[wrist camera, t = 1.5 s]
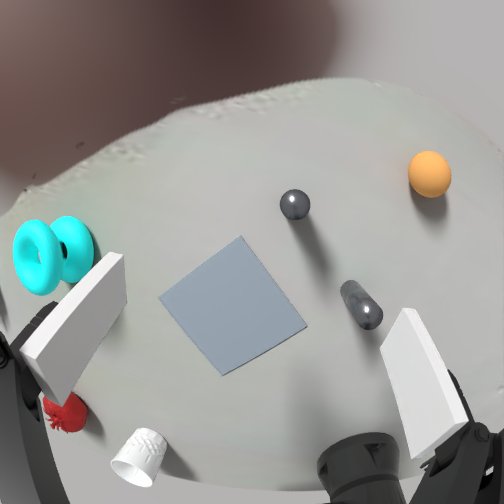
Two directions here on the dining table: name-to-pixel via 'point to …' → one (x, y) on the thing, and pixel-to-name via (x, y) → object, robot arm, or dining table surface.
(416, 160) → the ball
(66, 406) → the pomegranate
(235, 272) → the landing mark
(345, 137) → the dining table surface
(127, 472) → the white cup
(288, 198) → the near post
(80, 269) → the donuts
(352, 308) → the far post
